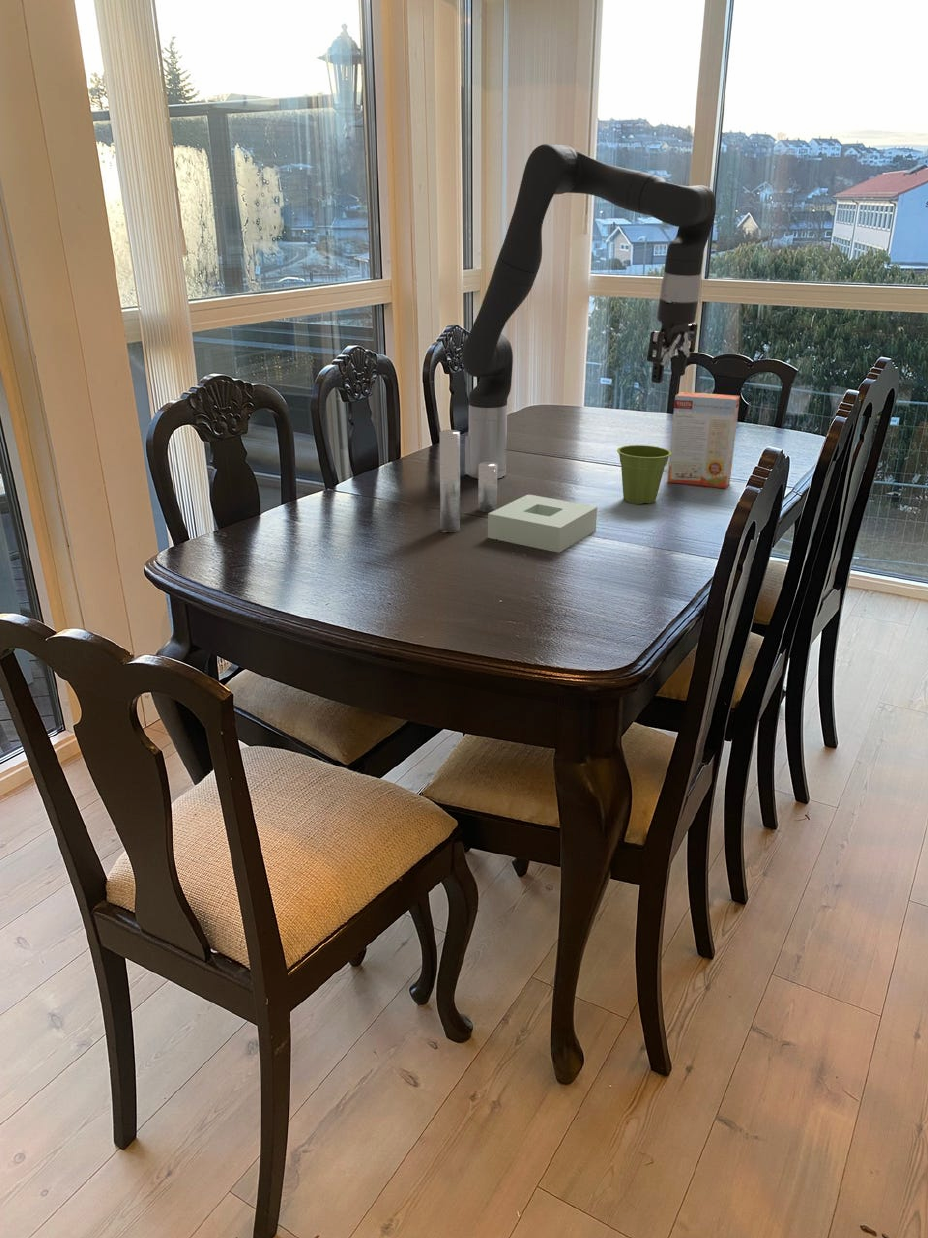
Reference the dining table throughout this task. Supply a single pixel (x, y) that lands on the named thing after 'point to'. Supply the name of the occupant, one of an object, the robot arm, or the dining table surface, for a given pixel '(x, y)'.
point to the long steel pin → (450, 480)
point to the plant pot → (642, 472)
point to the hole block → (542, 522)
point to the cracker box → (703, 439)
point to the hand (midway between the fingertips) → (667, 378)
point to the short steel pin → (487, 487)
